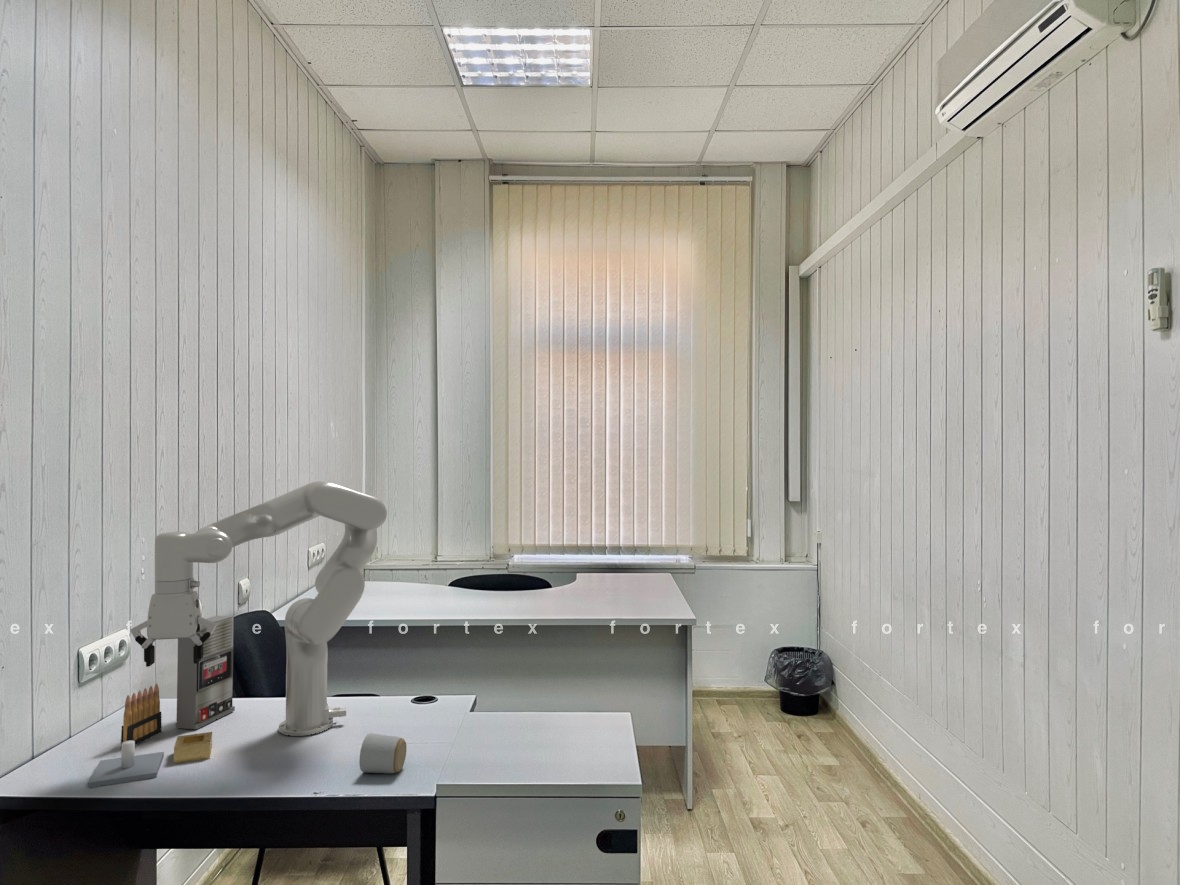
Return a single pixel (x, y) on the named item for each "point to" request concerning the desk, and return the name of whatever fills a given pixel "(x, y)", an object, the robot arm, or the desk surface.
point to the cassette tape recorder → (206, 677)
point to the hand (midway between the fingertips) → (174, 663)
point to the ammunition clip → (142, 716)
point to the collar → (193, 747)
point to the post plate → (128, 774)
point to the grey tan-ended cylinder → (382, 754)
